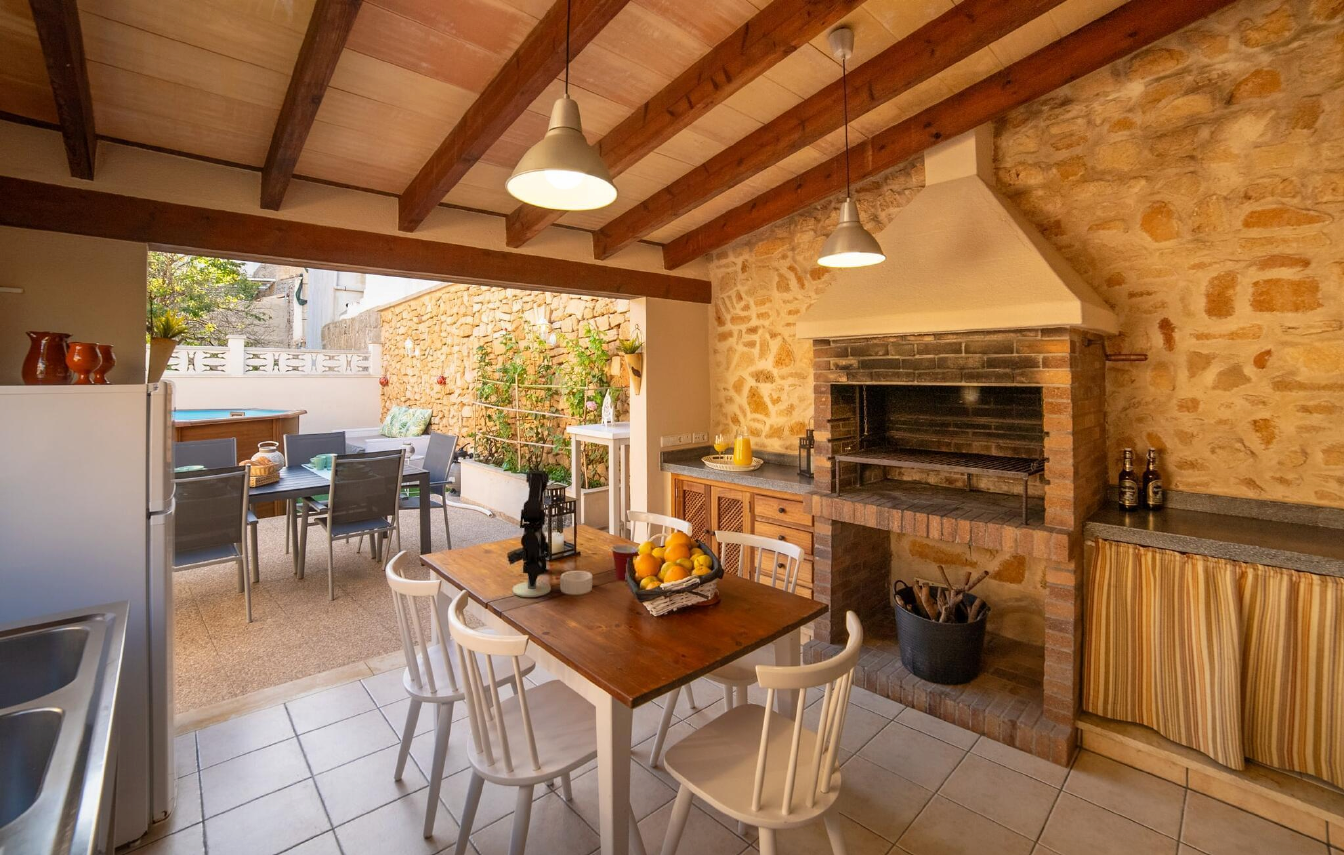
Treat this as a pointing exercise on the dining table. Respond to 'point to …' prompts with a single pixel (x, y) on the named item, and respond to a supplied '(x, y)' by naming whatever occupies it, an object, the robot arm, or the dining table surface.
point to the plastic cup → (622, 558)
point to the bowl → (576, 582)
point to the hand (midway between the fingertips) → (531, 584)
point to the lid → (531, 589)
